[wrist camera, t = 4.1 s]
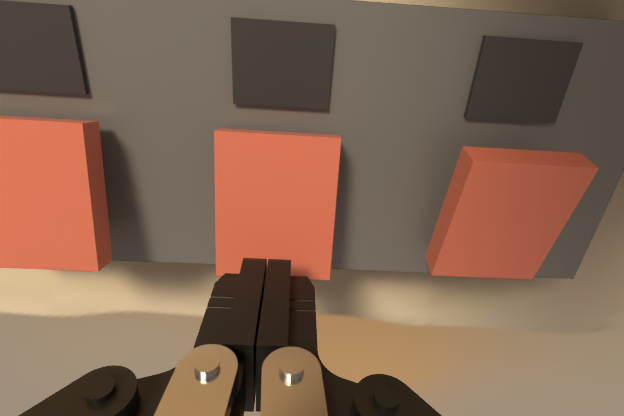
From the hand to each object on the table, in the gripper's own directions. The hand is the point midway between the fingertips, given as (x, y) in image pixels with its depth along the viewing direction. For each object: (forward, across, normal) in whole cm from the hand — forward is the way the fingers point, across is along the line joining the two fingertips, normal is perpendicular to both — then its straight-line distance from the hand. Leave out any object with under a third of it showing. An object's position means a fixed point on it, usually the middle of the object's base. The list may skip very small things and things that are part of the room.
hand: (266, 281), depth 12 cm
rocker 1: (+2, +8, -2) cm, 8 cm away
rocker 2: (+2, 0, -2) cm, 3 cm away
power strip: (+7, +2, -3) cm, 8 cm away
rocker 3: (+2, -8, -2) cm, 9 cm away
